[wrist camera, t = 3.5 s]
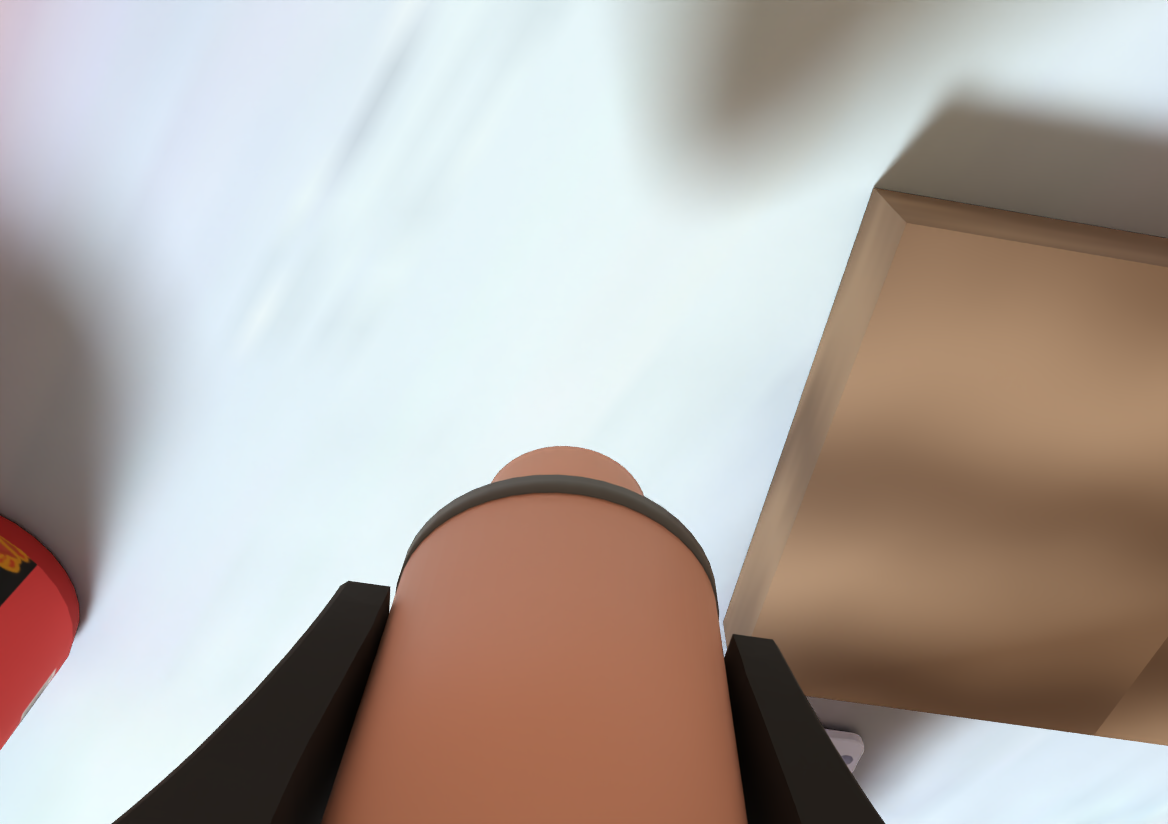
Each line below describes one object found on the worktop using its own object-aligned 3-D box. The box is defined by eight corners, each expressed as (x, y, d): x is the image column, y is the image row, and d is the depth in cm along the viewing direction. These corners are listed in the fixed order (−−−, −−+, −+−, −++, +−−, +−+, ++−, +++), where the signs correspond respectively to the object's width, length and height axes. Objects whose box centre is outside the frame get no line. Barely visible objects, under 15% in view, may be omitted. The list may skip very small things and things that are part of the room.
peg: (671, 629, 17) (730, 1388, 8) (421, 594, 16) (207, 1340, 8) (733, 419, 14) (916, 1209, 5) (436, 374, 14) (139, 1132, 5)
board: (1316, 706, 27) (1376, 774, 25) (723, 622, 26) (732, 686, 24) (1674, 325, 20) (1802, 375, 18) (873, 188, 19) (906, 222, 17)
